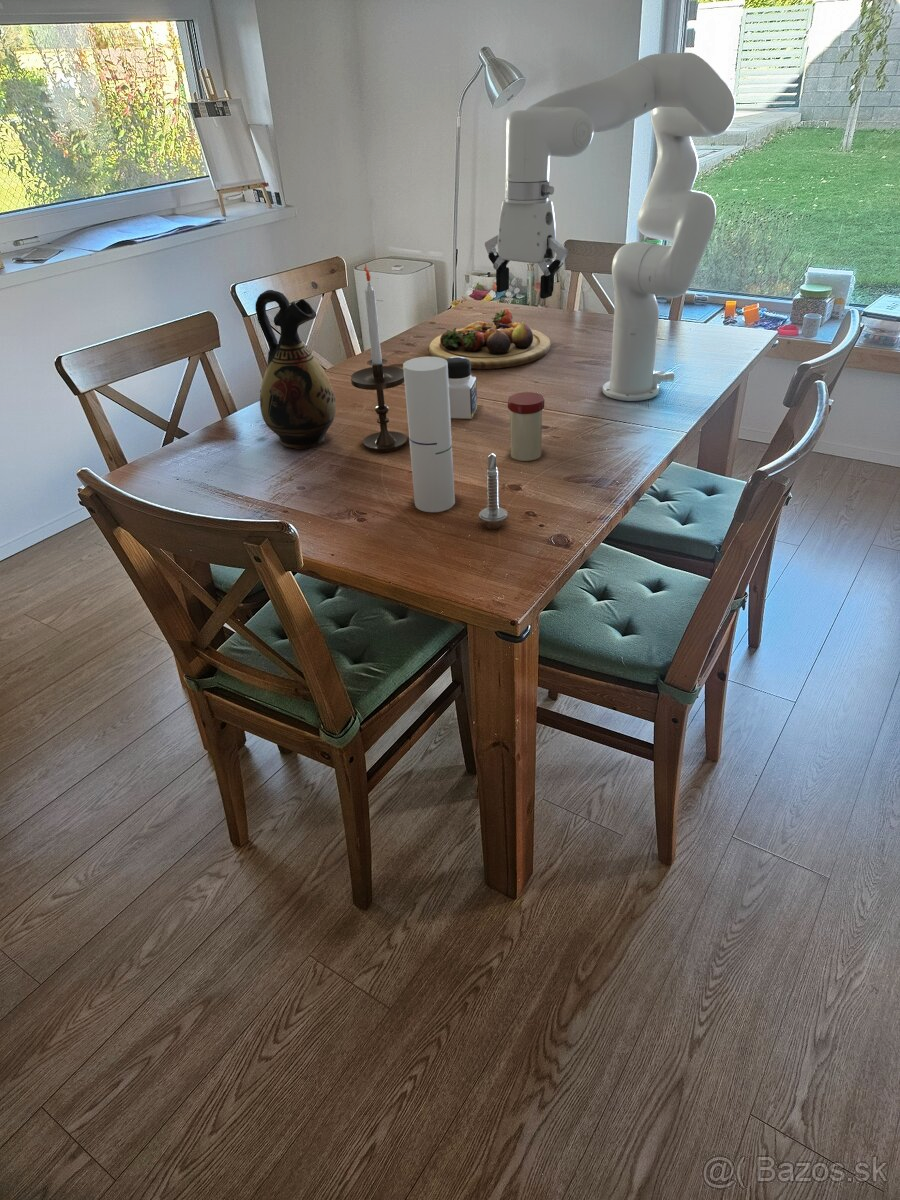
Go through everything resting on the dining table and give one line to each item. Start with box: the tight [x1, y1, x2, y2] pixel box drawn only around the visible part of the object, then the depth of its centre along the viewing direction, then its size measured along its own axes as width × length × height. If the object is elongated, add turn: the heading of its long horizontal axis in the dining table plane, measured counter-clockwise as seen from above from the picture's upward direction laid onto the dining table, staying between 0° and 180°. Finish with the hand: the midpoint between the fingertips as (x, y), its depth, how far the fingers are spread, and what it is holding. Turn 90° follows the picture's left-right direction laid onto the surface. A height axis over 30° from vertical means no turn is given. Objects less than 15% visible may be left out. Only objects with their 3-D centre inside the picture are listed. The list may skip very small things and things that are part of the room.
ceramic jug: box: [254, 289, 337, 450], centre depth 164 cm, size 17×15×30 cm
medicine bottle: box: [446, 356, 478, 420], centre depth 177 cm, size 7×7×12 cm
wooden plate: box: [428, 308, 551, 370], centre depth 214 cm, size 32×32×8 cm
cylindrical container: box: [402, 356, 456, 513], centre depth 138 cm, size 7×7×25 cm
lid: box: [507, 391, 545, 414], centre depth 155 cm, size 7×7×2 cm
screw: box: [478, 453, 509, 530], centre depth 134 cm, size 13×5×5 cm
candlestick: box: [350, 263, 408, 454], centre depth 159 cm, size 11×11×35 cm
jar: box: [509, 410, 543, 462], centre depth 157 cm, size 6×6×11 cm
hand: (524, 294), depth 152 cm, fingers open, 9 cm apart
